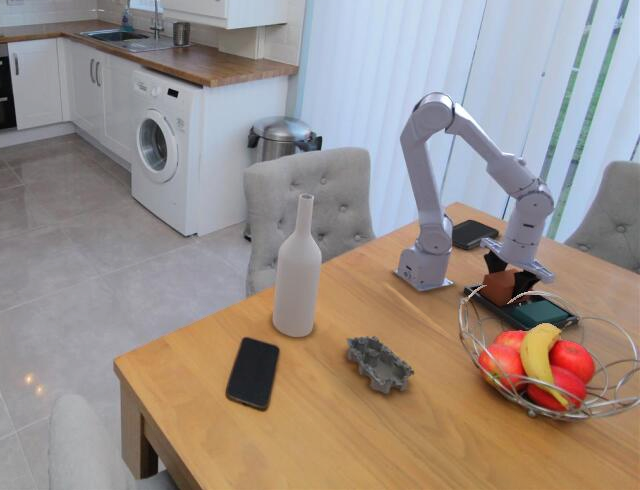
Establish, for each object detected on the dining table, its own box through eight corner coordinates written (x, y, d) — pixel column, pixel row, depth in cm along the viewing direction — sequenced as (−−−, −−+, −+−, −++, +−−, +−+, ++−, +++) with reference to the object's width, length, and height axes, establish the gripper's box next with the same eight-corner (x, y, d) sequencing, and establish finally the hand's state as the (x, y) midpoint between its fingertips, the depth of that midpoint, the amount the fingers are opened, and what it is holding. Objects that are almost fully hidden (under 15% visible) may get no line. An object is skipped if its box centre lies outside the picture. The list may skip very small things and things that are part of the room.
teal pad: (533, 331, 96) (536, 321, 95) (511, 316, 100) (514, 307, 99) (564, 324, 97) (568, 314, 96) (542, 309, 101) (545, 300, 100)
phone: (501, 231, 128) (467, 246, 122) (500, 234, 129) (466, 250, 123) (470, 218, 135) (437, 232, 129) (469, 222, 135) (436, 236, 129)
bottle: (288, 305, 106) (301, 183, 95) (320, 326, 100) (338, 197, 89) (264, 321, 102) (274, 194, 91) (296, 343, 95) (312, 211, 85)
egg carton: (413, 391, 84) (418, 373, 83) (373, 397, 83) (377, 379, 82) (377, 346, 94) (380, 329, 93) (341, 350, 93) (343, 334, 92)
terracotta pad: (499, 306, 102) (504, 287, 100) (479, 293, 106) (484, 274, 105) (529, 299, 104) (535, 280, 102) (508, 287, 108) (514, 268, 106)
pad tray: (525, 338, 95) (528, 330, 94) (462, 293, 108) (464, 286, 107) (577, 325, 97) (580, 317, 97) (510, 283, 110) (512, 276, 110)
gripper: (574, 253, 94) (554, 309, 99) (504, 218, 107) (489, 269, 112) (546, 259, 92) (527, 316, 97) (478, 223, 106) (465, 274, 110)
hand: (505, 291), depth 105 cm, fingers closed on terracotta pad, 4 cm apart
